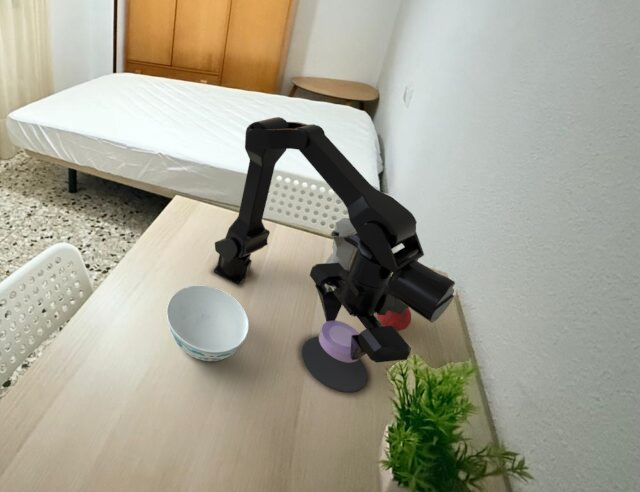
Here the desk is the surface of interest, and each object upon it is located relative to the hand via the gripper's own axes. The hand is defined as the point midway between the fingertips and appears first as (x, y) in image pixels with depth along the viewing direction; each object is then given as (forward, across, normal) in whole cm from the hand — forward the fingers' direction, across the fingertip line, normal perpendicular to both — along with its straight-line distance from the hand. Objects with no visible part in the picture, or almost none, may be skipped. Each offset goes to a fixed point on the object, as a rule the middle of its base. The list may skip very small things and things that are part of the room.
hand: (341, 340), depth 72 cm
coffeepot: (+6, +19, -15) cm, 25 cm away
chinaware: (+6, +6, +23) cm, 25 cm away
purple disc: (+1, 0, 0) cm, 1 cm away
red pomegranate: (+6, +6, -16) cm, 19 cm away
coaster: (+6, 0, 0) cm, 6 cm away
